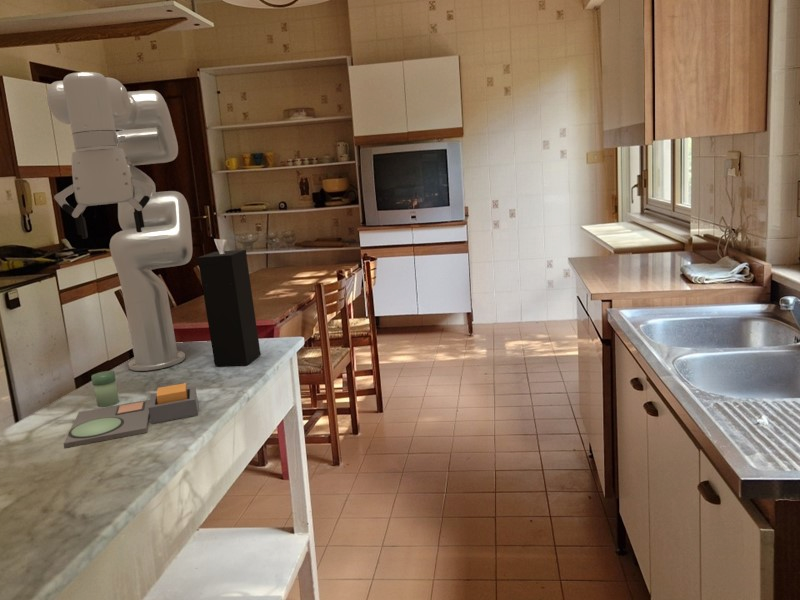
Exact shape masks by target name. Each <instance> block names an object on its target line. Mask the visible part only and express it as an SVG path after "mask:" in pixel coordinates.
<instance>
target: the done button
mask: <svg viewBox="0 0 800 600" xmlns="http://www.w3.org/2000/svg"><path fill="white" fill-rule="evenodd" d="M187 388H188V387H187V383H186V382H184V383H178V384H174V385H173V384H172V385H167V386H161V387H160V386H159V387H157V390H156V393H157V396H156V397H157V402H158V404H163V403H169V402H174V401H180V400H185V399H188V393H187Z"/></svg>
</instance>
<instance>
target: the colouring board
mask: <svg viewBox="0 0 800 600" xmlns="http://www.w3.org/2000/svg"><path fill="white" fill-rule="evenodd" d="M149 402H150V399H144V400H140V401H135V402H127V403H122V404H115V405H112V406H108V407H98V408H94V409H89V410H83V411H79V412H78V413H77V415H76V417H75V419H74V421H73V423H72V426H71V428H70V429H69V431H68V433H67V435H66V437H65V439H64V442H63V448H64V449H66V448H71V447H77V446H82V445H89V444H93V443H98V442H103V441H109V440H114V439H120V438H125V437H130V436H135V435H139V434H141V435H142V434H147V433H148V430H149V429H148V428H149V423H150V414H149V409H148V407H149Z"/></svg>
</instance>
